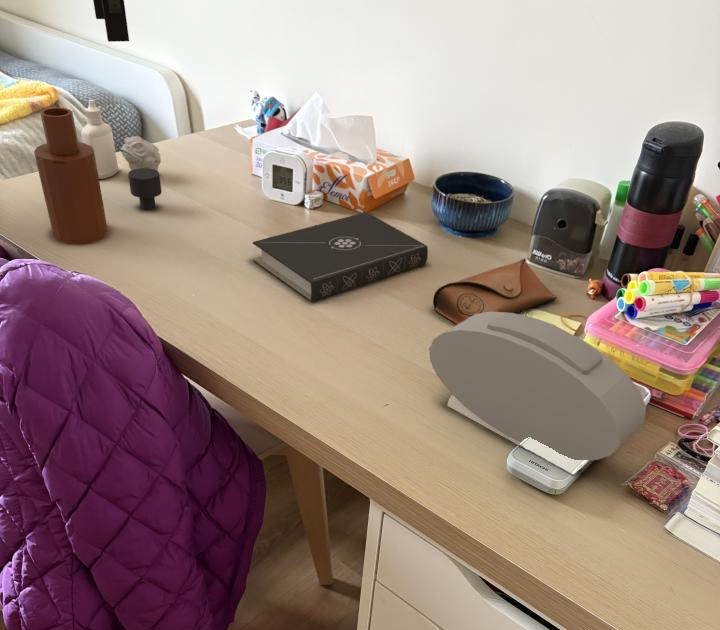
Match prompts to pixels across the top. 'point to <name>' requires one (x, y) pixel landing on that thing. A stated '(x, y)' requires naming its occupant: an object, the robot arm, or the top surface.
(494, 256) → the top surface
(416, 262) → the book
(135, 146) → the frog figurine
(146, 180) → the bung
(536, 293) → the sunglasses case
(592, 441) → the alarm clock
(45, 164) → the brown bottle
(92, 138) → the eye dropper bottle
